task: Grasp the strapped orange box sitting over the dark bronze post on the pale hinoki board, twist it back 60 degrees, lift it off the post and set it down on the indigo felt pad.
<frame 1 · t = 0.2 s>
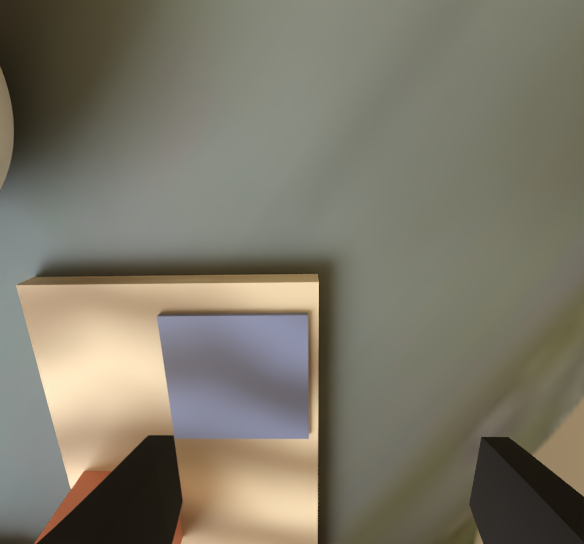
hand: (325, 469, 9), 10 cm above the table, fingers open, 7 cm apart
strapped orange box: (135, 505, 21), point 1 cm above the table, touching board
board: (194, 433, 21), on the table
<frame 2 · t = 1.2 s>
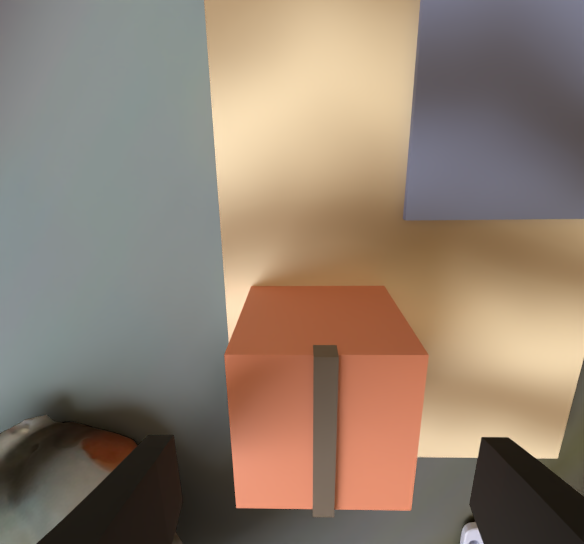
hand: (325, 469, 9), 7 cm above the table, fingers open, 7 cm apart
strapped orange box: (316, 345, 14), point 1 cm above the table, touching board
lucky cat figurine: (101, 514, 19), on the table
board: (405, 239, 14), on the table
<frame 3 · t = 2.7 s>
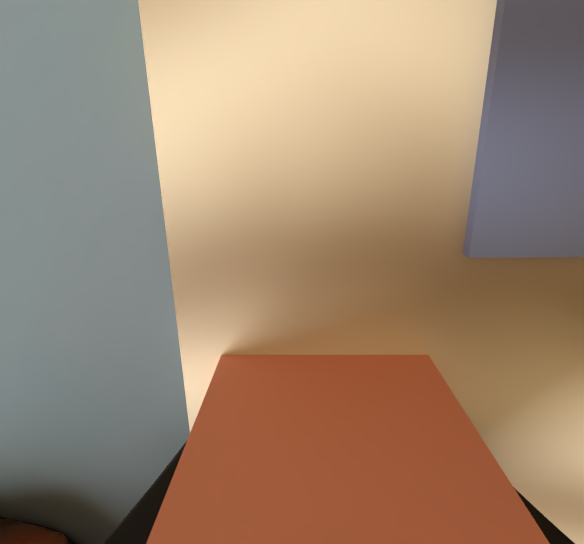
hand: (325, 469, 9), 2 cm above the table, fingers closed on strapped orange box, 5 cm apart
strapped orange box: (322, 438, 10), point 1 cm above the table, touching board, gripper
board: (457, 279, 9), on the table
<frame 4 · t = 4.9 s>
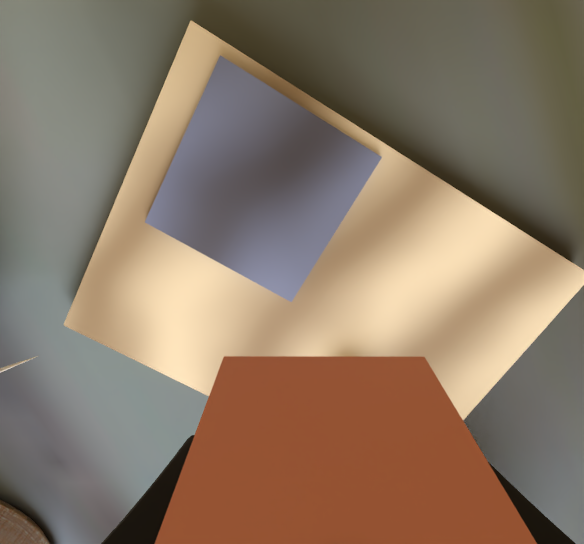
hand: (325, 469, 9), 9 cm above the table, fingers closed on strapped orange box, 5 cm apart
strapped orange box: (322, 436, 10), point 8 cm above the table, touching gripper
board: (315, 291, 17), on the table
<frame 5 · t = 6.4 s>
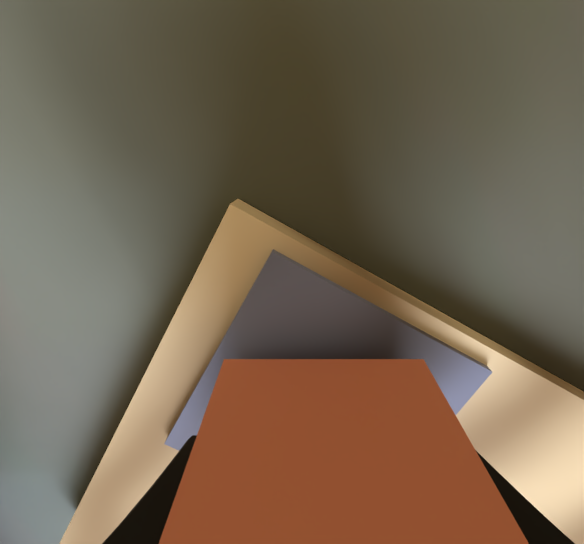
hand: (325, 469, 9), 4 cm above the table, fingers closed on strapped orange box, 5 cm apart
strapped orange box: (321, 437, 10), point 2 cm above the table, touching gripper
board: (381, 492, 13), on the table
when the fingers open (4 cm above the table, at t = 7.3 s): strapped orange box stays where it is, resting on board.
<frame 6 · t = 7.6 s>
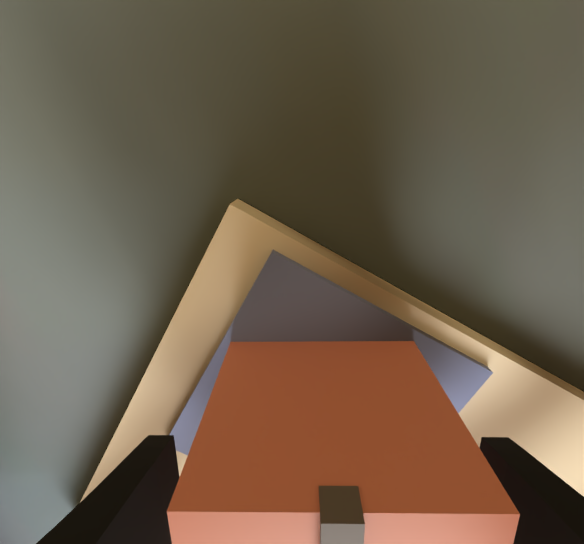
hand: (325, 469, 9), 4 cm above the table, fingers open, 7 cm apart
strapped orange box: (320, 417, 11), point 1 cm above the table, touching board
board: (381, 493, 13), on the table
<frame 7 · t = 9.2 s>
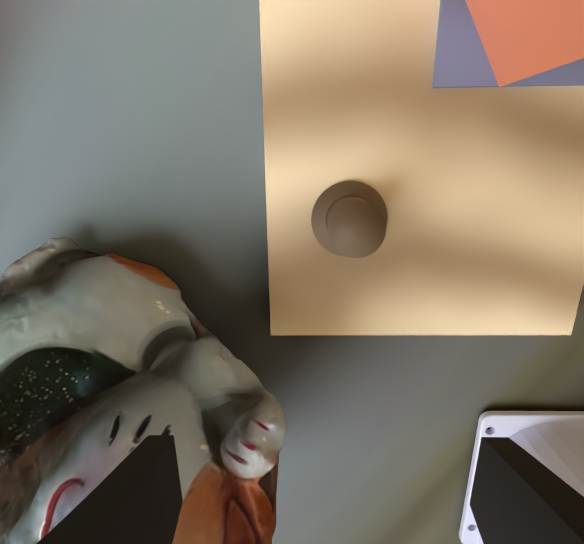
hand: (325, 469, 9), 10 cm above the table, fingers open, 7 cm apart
lucky cat figurine: (135, 363, 20), on the table
board: (431, 119, 15), on the table
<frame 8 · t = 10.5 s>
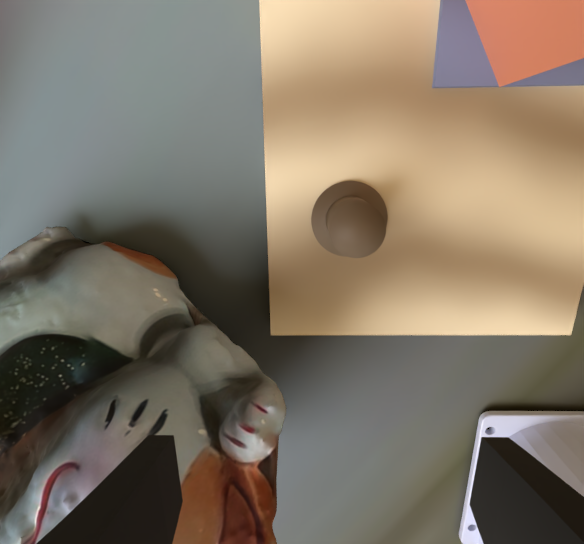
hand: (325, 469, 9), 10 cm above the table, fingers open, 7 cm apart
lucky cat figurine: (135, 355, 19), on the table
board: (431, 119, 15), on the table
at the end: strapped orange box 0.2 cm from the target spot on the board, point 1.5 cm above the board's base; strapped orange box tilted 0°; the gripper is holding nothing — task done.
